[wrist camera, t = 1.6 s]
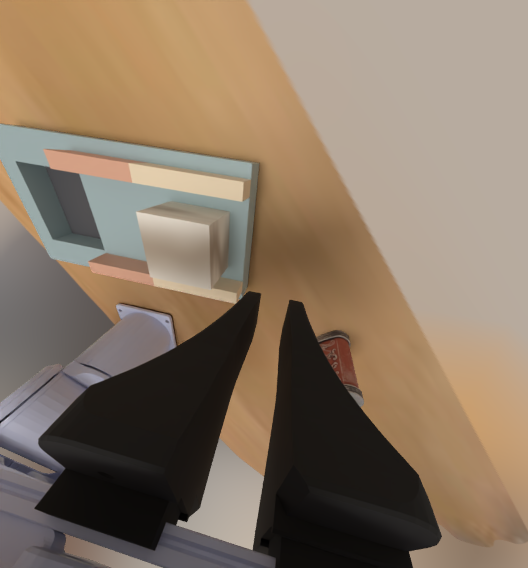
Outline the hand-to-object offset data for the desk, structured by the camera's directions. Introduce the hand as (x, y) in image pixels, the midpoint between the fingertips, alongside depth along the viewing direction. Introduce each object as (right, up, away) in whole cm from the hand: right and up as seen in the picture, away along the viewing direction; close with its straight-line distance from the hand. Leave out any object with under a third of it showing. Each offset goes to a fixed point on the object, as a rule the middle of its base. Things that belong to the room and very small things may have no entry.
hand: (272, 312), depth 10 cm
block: (-6, +6, +7) cm, 11 cm away
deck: (-12, +8, +10) cm, 18 cm away
